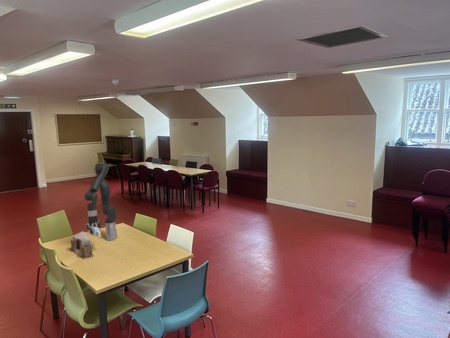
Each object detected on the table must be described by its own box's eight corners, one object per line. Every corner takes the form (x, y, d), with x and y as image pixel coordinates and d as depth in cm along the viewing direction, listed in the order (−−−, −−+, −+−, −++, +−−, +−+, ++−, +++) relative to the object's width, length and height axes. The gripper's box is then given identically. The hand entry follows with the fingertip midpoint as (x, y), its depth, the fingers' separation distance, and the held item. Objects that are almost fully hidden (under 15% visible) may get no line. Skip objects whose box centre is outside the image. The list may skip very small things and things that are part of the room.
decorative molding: (81, 250, 294) (92, 245, 299) (79, 246, 292) (90, 241, 297) (75, 239, 322) (85, 235, 327) (73, 235, 321) (83, 231, 326)
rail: (91, 230, 295) (90, 224, 294) (102, 235, 280) (101, 229, 279) (86, 231, 292) (86, 225, 291) (97, 237, 277) (97, 230, 276)
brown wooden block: (79, 247, 294) (78, 238, 292) (93, 256, 274) (92, 246, 272) (70, 250, 288) (69, 240, 287) (84, 259, 268) (83, 248, 267)
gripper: (98, 212, 291) (99, 230, 294) (82, 215, 281) (84, 234, 284) (102, 213, 286) (103, 232, 289) (86, 217, 276) (88, 236, 279)
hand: (94, 233), depth 286 cm, fingers closed on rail, 4 cm apart
